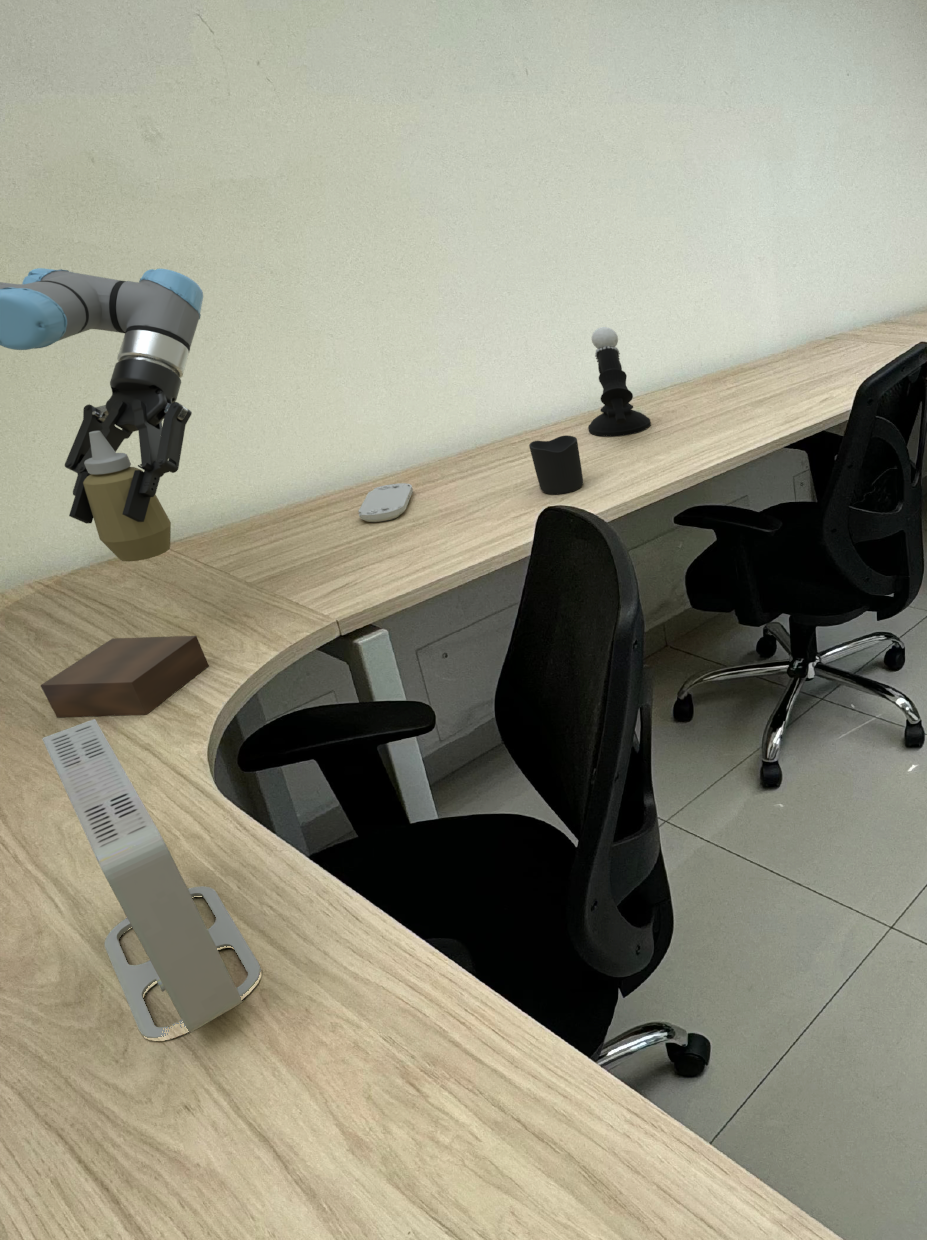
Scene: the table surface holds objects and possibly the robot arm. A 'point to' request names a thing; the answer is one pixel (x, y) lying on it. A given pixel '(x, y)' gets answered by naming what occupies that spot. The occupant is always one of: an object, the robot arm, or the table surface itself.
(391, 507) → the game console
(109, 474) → the squeeze bottle
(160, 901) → the network device
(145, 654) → the riser
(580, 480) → the pen holder
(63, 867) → the table surface
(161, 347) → the robot arm
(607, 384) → the sculpture
